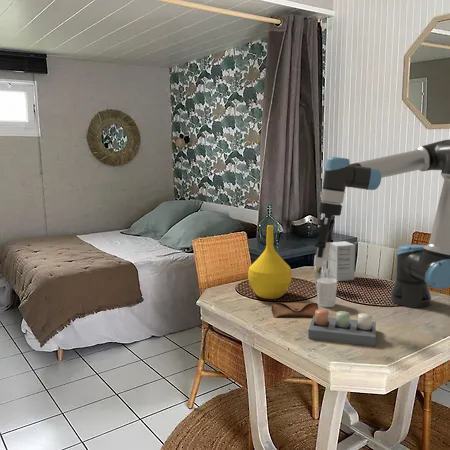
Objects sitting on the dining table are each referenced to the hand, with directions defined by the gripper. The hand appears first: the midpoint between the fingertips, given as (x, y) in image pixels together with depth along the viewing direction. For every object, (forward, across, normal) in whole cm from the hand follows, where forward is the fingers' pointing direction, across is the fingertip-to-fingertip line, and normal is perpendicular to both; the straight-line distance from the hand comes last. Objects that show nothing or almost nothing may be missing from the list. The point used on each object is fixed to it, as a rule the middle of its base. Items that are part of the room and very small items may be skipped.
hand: (321, 263), depth 162 cm
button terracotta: (+19, +6, +4) cm, 20 cm away
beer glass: (+20, -42, -3) cm, 46 cm away
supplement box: (+18, -61, +3) cm, 64 cm away
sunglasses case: (+23, -8, -7) cm, 26 cm away
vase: (+23, -26, -22) cm, 41 cm away
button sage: (+18, +6, +11) cm, 22 cm away
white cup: (+21, -22, +2) cm, 30 cm away
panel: (+21, +5, +11) cm, 25 cm away
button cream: (+17, +5, +18) cm, 25 cm away
